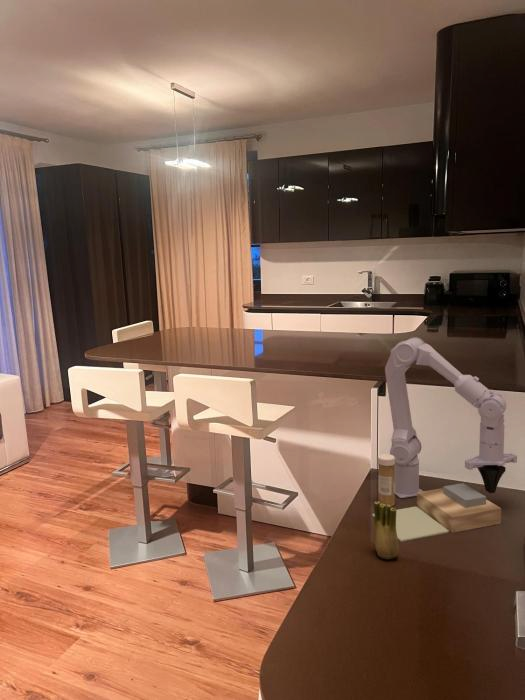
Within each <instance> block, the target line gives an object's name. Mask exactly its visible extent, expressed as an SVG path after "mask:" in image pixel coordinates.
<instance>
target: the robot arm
mask: <svg viewBox="0 0 525 700" xmlns="http://www.w3.org/2000/svg"><path fill="white" fill-rule="evenodd" d="M414 363H415V365H418V366H429V367H430V368H431V369H433V370H434V371H436V372H437V373H438V374H439V375H441V376H442V377H444V378H445V379H447V380H448V381H449V382H450V383H452V384H453V386H454V387H453V388H454V392H456V393H457V394H458V395H459V396H460V397H461V398H462V399H464V400H465V401H467V402H468V403H469V404H470V405H472V406H473V407H474V408H477V412H478V415H479V416H480V424H479V448H478V450H479V452H478V453H479V454H478V455H477V456H475V457H471V458H470V459H466V460H464V468H465V469H467V470H469V471H471V470H473V469H477V470H478V472H479V473H480V476H481V478H482V481H483V485H484V490H485V491H486V492H487V493H489V494H495V493H496V490H497V488H498V485H499V482H500V481H501V478H502V476H503V475H504V474H505V472H506V469H507V468H506V467H505V465H506V464H509V463H512V464H515V463H518V455H516V454H515V453H513V452H511V453H505V452H504V451H505V449H504V447H505V446H504V445H505V414H504V413H505V411H506V409H507V402H506V400H505V398H504V397H503V396H502V394H499V393H496V392H495V391H494V390H493V389H489V388H488V387H486V386H485V385H484V384H483V383H481V382H480V381H479V380H480V378H479V377H477V376H472V375H471V374H462V373H461V372H460V371H459V370H458V369H457V368H455V367H454V366H453V365H452V364H451V363H450V362H449V361H448V360H446V359H445V358H444V356H442V355H441V354H440V353H438V351H436V350H435V349H434V348H433V347H432V346H431V345H430V344H428V343H426V342H425V341H423V340H422V339H421V338H419V337H415V336H414V337H410V338H409V339H407V340H402V341H400V342H398V343H397V344H396V345H395V346H394V347H392V349H390V355H389V356H388V359H387V362H386V364H385V367H384V374H385V379H386V385H387V386H386V387H387V393H388V399H389V407H390V414H391V419H392V420H391V421H392V427H393V431H392V435H391V438H390V439H391V440H390V441H391V447H390V449H389V454H390V455H393V456H394V457H395V465H394V476H395V496H397V497H399V498H400V499H405V498H411V497H417V492H423V491H424V490H423V489H421V488H420V459H419V457H418V455H419V454H420V452H421V450H422V442H421V440H420V439H419V438H418V435H417V431H416V429H415V428H414V426H413V421H412V414H411V407H410V400H409V394H408V393H409V392H408V388H407V387H408V386H407V379H406V374H405V373H406V372H407V371H408V370H409V368H410V367H411V366H412V365H413V364H414Z"/></svg>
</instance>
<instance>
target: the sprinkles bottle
mask: <svg viewBox="0 0 525 700" xmlns="http://www.w3.org/2000/svg"><path fill="white" fill-rule="evenodd" d="M377 465H378V470H377V471H378V473H377V474H378V477H377V481H378V482H377V484H378V489H377V491H378V501H377V502H380V504H385V505H386V507H387V505H388V504H389V505H391V507H393V506H395V504H396V499H395V496H396V494H395V476H394V465H395V457H394V456H393V455H390V453H382V454H379V455H378V456H377Z"/></svg>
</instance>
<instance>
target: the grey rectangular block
mask: <svg viewBox="0 0 525 700" xmlns="http://www.w3.org/2000/svg"><path fill="white" fill-rule="evenodd" d="M442 488H443V494H445V495H446V496H448V497H449V498H451V499H452V500H454V501H455V502H457V503H459V504H460V505H462V506H463V507H465V508H469V507H474V506H480V505H485V504H486V499H487V496H486V495H484V494H482V493H480V492H479V491H477V490H475V489H474V488H472V487H470V486H469V485H466V484H465V483H463V482H462V483H456V484H450V485H444V486H443V487H442Z"/></svg>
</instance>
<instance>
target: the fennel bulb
mask: <svg viewBox="0 0 525 700" xmlns="http://www.w3.org/2000/svg"><path fill="white" fill-rule="evenodd" d="M373 510H374V513H373V514H375V515H374V517H373V518H374V519H373V521H374V522H373V535H374V536H373V537H374V545H375V550H376V553H377V556H378V557H379V558H380V559H383V560H391V559H394V558H396V557H397V556H398V555H399V550H400V547H399V540H398V537H397V532H396V512H397V511H396V510H397V509H396V508H395V507H392V506H391V505H389V504H388V505H387V506H386V505H385V504H380V502H378V501H374V502H373Z"/></svg>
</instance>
